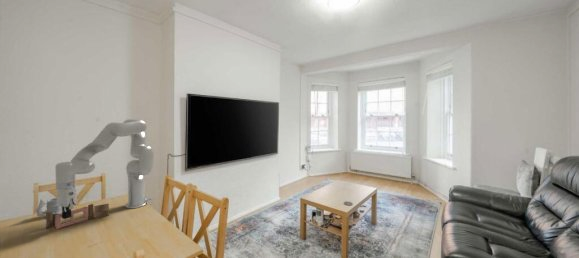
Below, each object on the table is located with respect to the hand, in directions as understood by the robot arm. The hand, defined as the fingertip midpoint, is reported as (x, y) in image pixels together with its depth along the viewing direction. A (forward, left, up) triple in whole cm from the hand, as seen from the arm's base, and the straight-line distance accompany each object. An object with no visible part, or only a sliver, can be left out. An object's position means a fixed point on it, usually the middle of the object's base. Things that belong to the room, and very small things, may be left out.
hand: (66, 217), depth 123 cm
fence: (-5, -7, -6) cm, 11 cm away
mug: (+8, -25, -6) cm, 27 cm away
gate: (-2, -4, -5) cm, 7 cm away
